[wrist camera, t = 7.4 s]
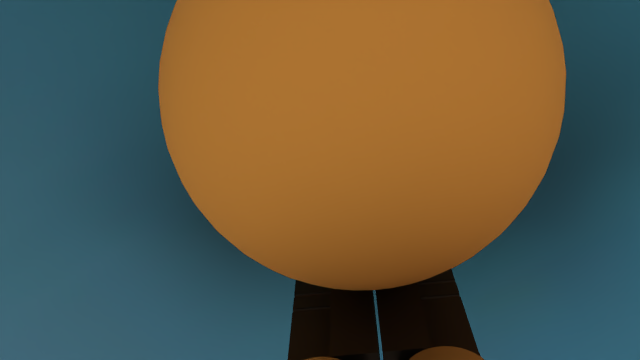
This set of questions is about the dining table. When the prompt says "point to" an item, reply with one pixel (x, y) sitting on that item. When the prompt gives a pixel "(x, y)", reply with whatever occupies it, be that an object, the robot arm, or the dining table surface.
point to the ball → (361, 128)
